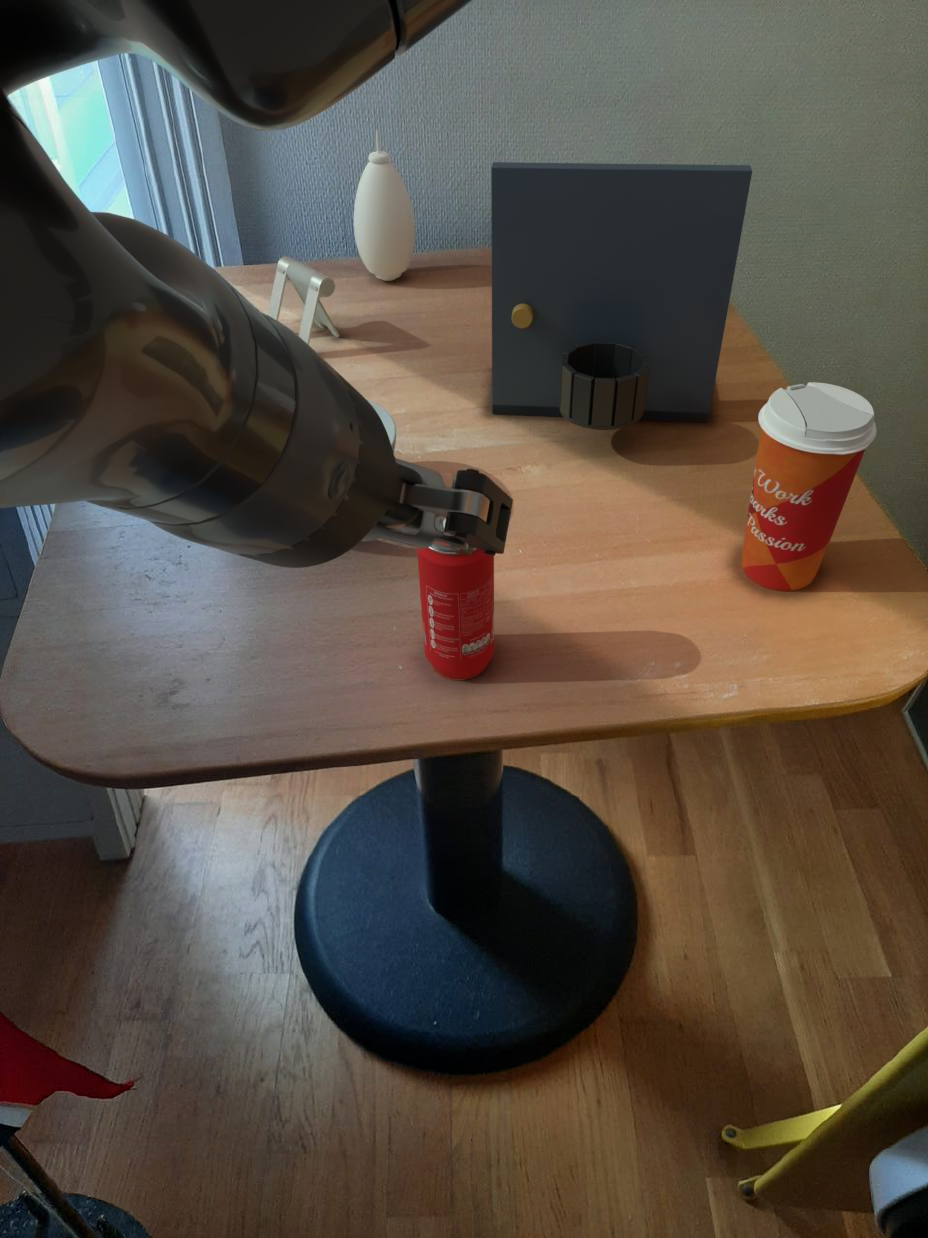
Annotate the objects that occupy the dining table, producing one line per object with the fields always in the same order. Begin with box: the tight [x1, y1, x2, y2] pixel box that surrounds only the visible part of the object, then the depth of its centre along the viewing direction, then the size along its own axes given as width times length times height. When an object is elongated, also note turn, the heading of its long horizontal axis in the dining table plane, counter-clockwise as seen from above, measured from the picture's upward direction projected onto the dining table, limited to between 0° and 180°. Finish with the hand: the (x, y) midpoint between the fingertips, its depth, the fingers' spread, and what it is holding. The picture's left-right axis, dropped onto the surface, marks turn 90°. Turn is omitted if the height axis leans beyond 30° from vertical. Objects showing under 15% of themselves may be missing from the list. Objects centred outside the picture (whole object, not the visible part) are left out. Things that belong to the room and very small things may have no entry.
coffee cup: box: [741, 381, 878, 592], centre depth 71 cm, size 8×8×15 cm
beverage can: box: [416, 515, 495, 681], centre depth 65 cm, size 5×5×12 cm
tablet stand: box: [267, 255, 340, 346], centre depth 106 cm, size 9×8×8 cm
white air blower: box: [353, 129, 416, 282], centre depth 116 cm, size 8×8×18 cm
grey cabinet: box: [490, 161, 753, 431], centre depth 87 cm, size 22×18×24 cm
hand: (388, 521), depth 47 cm, fingers open, 8 cm apart
